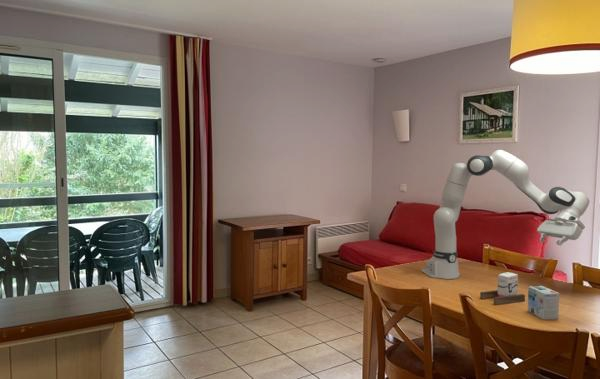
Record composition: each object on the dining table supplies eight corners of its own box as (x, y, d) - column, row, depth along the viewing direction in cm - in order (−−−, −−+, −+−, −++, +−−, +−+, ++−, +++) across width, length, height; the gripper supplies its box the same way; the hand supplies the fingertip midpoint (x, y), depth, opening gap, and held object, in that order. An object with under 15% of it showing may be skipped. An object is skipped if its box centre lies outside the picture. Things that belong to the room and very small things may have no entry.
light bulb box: (527, 310, 181) (527, 285, 180) (542, 310, 181) (542, 285, 181) (543, 320, 170) (544, 293, 170) (559, 319, 171) (560, 292, 170)
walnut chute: (480, 298, 198) (480, 292, 198) (507, 294, 203) (507, 288, 203) (496, 305, 188) (496, 298, 188) (524, 301, 193) (524, 294, 193)
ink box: (507, 302, 192) (507, 276, 191) (497, 299, 196) (497, 274, 195) (517, 299, 197) (518, 273, 196) (507, 296, 201) (508, 271, 200)
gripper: (543, 214, 214) (528, 235, 212) (581, 218, 195) (565, 241, 192) (550, 222, 216) (535, 243, 213) (588, 227, 196) (572, 250, 194)
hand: (549, 242), depth 202 cm, fingers open, 8 cm apart
